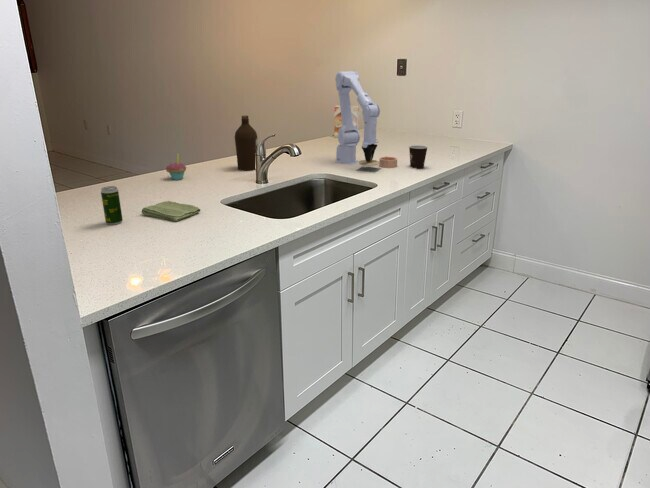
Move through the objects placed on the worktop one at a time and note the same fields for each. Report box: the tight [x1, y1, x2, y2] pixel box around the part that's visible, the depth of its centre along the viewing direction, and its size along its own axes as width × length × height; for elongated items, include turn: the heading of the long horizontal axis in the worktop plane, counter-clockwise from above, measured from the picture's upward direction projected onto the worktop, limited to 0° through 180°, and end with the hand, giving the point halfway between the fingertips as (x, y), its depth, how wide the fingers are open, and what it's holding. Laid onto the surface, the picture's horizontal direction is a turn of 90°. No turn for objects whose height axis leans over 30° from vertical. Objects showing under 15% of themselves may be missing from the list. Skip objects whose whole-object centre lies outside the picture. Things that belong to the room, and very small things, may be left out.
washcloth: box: [141, 200, 201, 222], centre depth 180 cm, size 13×18×3 cm
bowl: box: [378, 156, 398, 169], centre depth 250 cm, size 8×8×4 cm
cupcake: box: [165, 152, 187, 181], centre depth 225 cm, size 9×8×12 cm
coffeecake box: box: [333, 104, 360, 138], centre depth 328 cm, size 15×7×20 cm, turn 81°
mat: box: [355, 165, 383, 174], centre depth 244 cm, size 10×10×1 cm
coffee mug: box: [408, 144, 428, 170], centre depth 249 cm, size 12×9×10 cm
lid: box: [358, 155, 379, 167], centre depth 242 cm, size 10×10×5 cm
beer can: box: [100, 185, 123, 226], centre depth 169 cm, size 5×5×12 cm
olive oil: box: [234, 114, 258, 172], centre depth 242 cm, size 11×11×25 cm
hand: (369, 160), depth 242 cm, fingers closed on lid, 2 cm apart
